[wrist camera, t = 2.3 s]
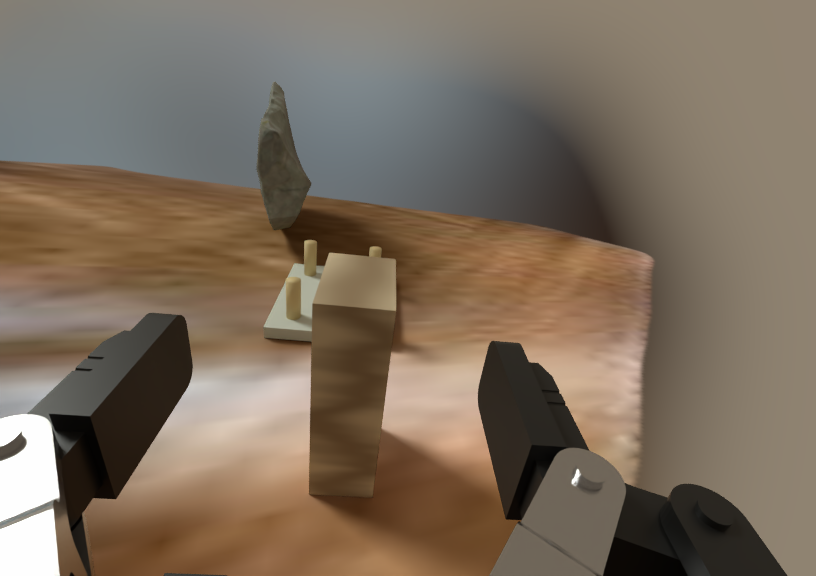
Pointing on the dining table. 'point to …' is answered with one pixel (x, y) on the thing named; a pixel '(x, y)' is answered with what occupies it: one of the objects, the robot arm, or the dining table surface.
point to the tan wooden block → (350, 372)
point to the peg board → (299, 298)
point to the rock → (280, 165)
